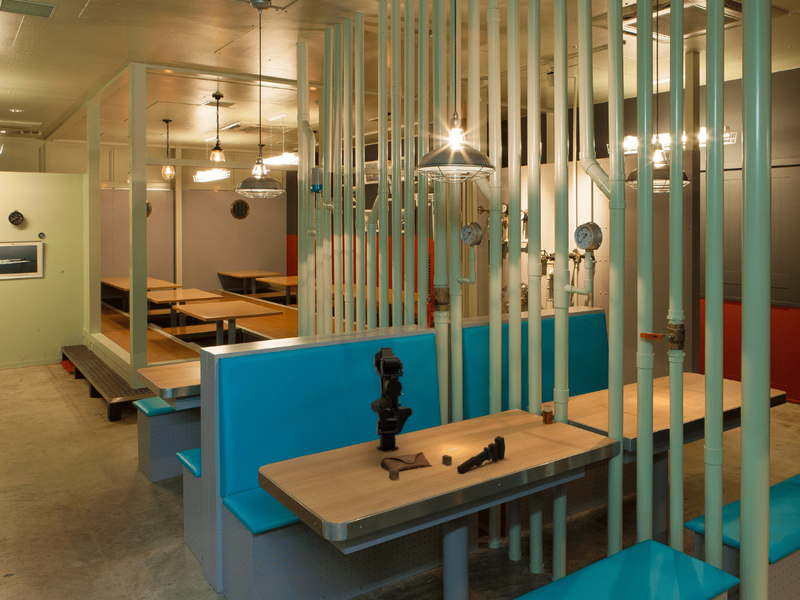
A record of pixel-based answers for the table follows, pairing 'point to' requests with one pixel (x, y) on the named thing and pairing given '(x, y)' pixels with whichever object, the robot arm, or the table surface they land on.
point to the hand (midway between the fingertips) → (391, 431)
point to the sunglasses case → (405, 462)
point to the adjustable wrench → (485, 455)
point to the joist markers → (395, 473)
